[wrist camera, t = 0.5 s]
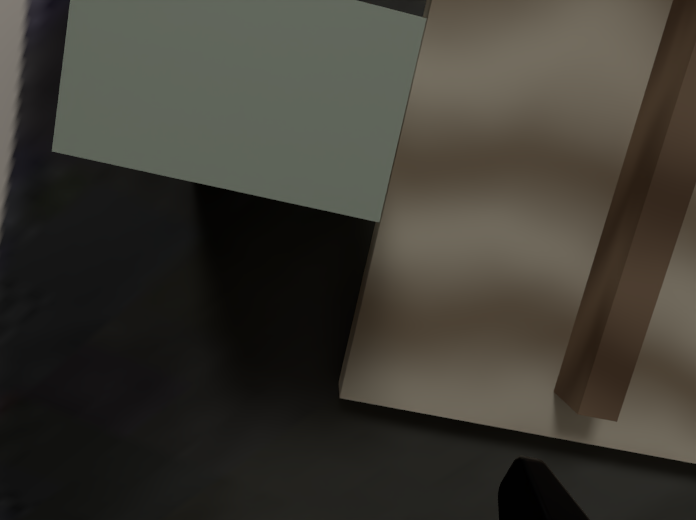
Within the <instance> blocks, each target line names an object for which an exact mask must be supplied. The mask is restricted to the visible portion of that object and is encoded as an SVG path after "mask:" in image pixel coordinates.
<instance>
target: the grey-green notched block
mask: <svg viewBox="0 0 696 520" xmlns="http://www.w3.org/2000/svg"><path fill="white" fill-rule="evenodd" d="M426 19H427V18H423V17H419V16H415V15H411V14H407V13H403V12H400V11H396V10H392V9H388V8H384V7H380V6H376V5H372V4H368V3H364V2H361V1H357V0H70V8H69V16H68V24H67V32H66V40H65V49H64V57H63V65H62V73H61V81H60V89H59V98H58V106H57V114H56V122H55V130H54V138H53V147H52V151H53V152H58V153H62V154H67V155H72V156H76V157H81V158H85V159H90V160H95V161H99V162H104V163H108V164H113V165H118V166H122V167H127V168H131V169H136V170H141V171H145V172H150V173H154V174H159V175H164V176H168V177H173V178H177V179H182V180H187V181H191V182H196V183H200V184H205V185H209V186H214V187H219V188H223V189H228V190H232V191H237V192H242V193H246V194H251V195H255V196H260V197H265V198H269V199H274V200H278V201H283V202H288V203H292V204H297V205H301V206H306V207H311V208H315V209H320V210H324V211H329V212H334V213H338V214H343V215H347V216H352V217H357V218H361V219H366V220H370V221H375V222H379V221H380V217H381V213H382V208H383V204H384V200H385V195H386V191H387V187H388V183H389V178H390V174H391V170H392V165H393V161H394V157H395V152H396V148H397V144H398V139H399V135H400V131H401V126H402V122H403V118H404V114H405V109H406V105H407V101H408V96H409V92H410V88H411V83H412V79H413V75H414V70H415V66H416V62H417V57H418V53H419V49H420V45H421V40H422V36H423V32H424V27H425V23H426Z"/></svg>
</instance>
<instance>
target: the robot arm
mask: <svg viewBox="0 0 696 520" xmlns="http://www.w3.org/2000/svg"><path fill="white" fill-rule="evenodd" d="M498 507H499V520H590V519H589V518H588V516H587V515H586V514H585V513H584V511H583V510H582V509H581V508H580V506H579V505H578V504H577V503H576V501H575V500H574V499H573V497H572V496H571V495H570V494H569V492H568V491H567V490H566V489H565V487H564V486H563V485H562V484H561V482H560V481H559V480H558V479H557V477H556V476H555V475H554V474H553V472H552V471H551V470H550V468H549V467H548V466H547V465H546V464H545V463H544V462H543V461H541V460H539V459H535V458H530V457H525V456H519V457H517V458H516V459H515V460H514V462H513V463H512V465H511V467H510V468H509V470H508V472H507V473H506V475H505V477H504V478H503V480H502V482H501V484H500V487H499V491H498Z"/></svg>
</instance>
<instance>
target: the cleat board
mask: <svg viewBox="0 0 696 520" xmlns="http://www.w3.org/2000/svg"><path fill="white" fill-rule="evenodd" d="M423 18H427V19H426V23H425V27H424V32H423V36H422V40H421V45H420V49H419V53H418V57H417V62H416V66H415V70H414V75H413V79H412V83H411V88H410V92H409V96H408V101H407V105H406V109H405V114H404V118H403V122H402V126H401V131H400V135H399V139H398V144H397V148H396V152H395V157H394V161H393V165H392V170H391V174H390V178H389V183H388V187H387V191H386V195H385V200H384V204H383V208H382V213H381V217H380V221H379V222H375V226H374V231H373V235H372V239H371V244H370V248H369V252H368V257H367V261H366V265H365V270H364V274H363V278H362V283H361V287H360V291H359V296H358V300H357V304H356V309H355V313H354V317H353V322H352V326H351V330H350V335H349V339H348V343H347V348H346V352H345V356H344V361H343V365H342V369H341V374H340V378H339V382H338V384H339V396H340V398H342V399H347V400H353V401H358V402H364V403H369V404H375V405H380V406H385V407H391V408H396V409H402V410H407V411H412V412H418V413H423V414H429V415H434V416H440V417H445V418H450V419H456V420H461V421H467V422H472V423H477V424H483V425H488V426H494V427H499V428H505V429H510V430H515V431H521V432H526V433H532V434H537V435H543V436H548V437H553V438H559V439H564V440H570V441H575V442H580V443H586V444H591V445H597V446H602V447H608V448H613V449H618V450H624V451H629V452H635V453H640V454H646V455H651V456H656V457H662V458H667V459H673V460H678V461H683V462H689V463H694V464H696V0H427V1H426V5H425V9H424V14H423Z"/></svg>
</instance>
